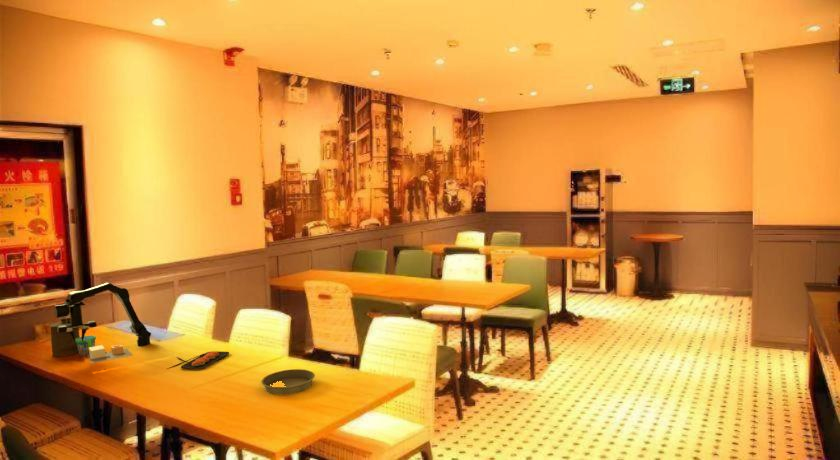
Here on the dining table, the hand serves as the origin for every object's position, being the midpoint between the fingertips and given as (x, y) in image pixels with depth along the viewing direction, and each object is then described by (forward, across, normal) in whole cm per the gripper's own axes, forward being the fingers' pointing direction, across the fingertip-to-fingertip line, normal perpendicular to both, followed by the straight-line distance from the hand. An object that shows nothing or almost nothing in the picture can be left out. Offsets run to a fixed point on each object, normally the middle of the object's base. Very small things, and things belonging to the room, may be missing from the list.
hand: (78, 341), depth 329 cm
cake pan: (+12, -72, +122) cm, 142 cm away
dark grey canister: (+12, +4, -29) cm, 32 cm away
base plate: (+12, -14, +3) cm, 19 cm away
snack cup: (+12, -5, -15) cm, 20 cm away
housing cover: (+11, -8, 0) cm, 14 cm away
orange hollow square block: (+11, -19, 0) cm, 22 cm away
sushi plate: (+13, -49, +47) cm, 69 cm away
